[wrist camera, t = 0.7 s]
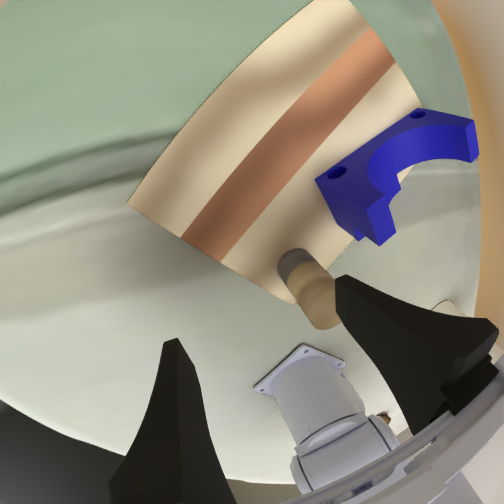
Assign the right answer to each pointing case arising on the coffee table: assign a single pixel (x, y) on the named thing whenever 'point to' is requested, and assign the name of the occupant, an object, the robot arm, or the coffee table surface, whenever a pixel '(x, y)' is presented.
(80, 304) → the coffee table surface
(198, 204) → the plywood sheet
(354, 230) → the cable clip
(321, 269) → the cylindrical peg
